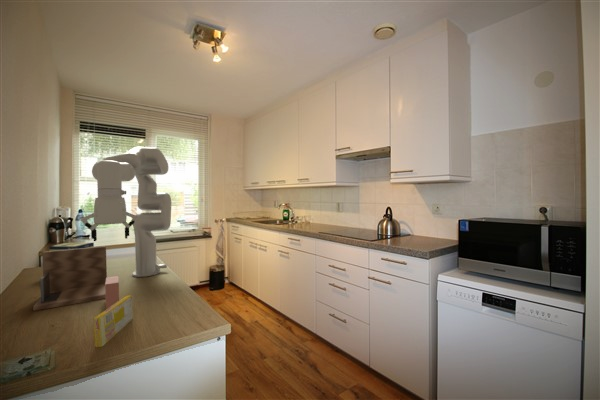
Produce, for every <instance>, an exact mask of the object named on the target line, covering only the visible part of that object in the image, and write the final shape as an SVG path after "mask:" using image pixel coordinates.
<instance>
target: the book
mask: <svg viewBox="0 0 600 400" xmlns="http://www.w3.org/2000/svg"><path fill="white" fill-rule="evenodd" d="M119 277H120V276H119V275H115V276H107V277H106V283H105V294H106V298H105V310H106V309H108V308H109V307H111V306H112V305H114V304H115V303H116V302H118V301H119V300H120V281H119V279H120V278H119Z"/></svg>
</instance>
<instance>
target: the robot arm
mask: <svg viewBox="0 0 600 400" xmlns="http://www.w3.org/2000/svg"><path fill="white" fill-rule="evenodd" d="M168 172H169V163H168V161H167V159H166V156H165V155H164V153H163V152H162V151H161V150H160V149H159V148H157V147H152V146H145V147H144V146H136V147H132V148H131V149H129V150H128V151H126V152H125V153H121V154H117V155H112V156H108V157H104V158H101V159H99V160H97V161H96V162H95V163H94V164H93V166H92V169H91V174H92V177H93V178H94V180H95V181H96V183H97V184H96V185H97V197H95V198H94V203H93V213H91V214H88V215H87V216H84V217H82V218H81V222H82V223H83V225H84V226H85V227H86V228H87V229H89V230H90V231H91V232H90V233H91V236H90V237H91V240H93V242H97V239H98V238H97V232H98V231H97V227H98V226H100V225H101V226H102V225H117V224H118V225H119V224H122V225H123V226H124V239H128V237H129V236H130V228H131V227H132V228H133V233H134V248H135V249H134V252H135V254H134V255H135V270H134V271H132V273H131V274H132V275H131V276H132V277H133V278H134V277H135V278H144V277H150V276H156V275H158V274H160V272H161V269H166V268H168V267H167V266H168V265H167V264H162V263H161V264H158V262H157V239H156V236H155V235H154V234H153V232H163V231H168V230H169V229H170V227H171V223H172V222H171V220H172V198H171V195H170V194H169V193H168V192H164V191H163V192H158V191H157V190H158V189H157V187H158V184H157V182H156V180H155V179H154V178H153V177H152V176H153V175H154V176H156V175H157V176H158V175H159V176H160V175H161V176H162V175H166V174H167V173H168ZM135 177H136V178H135ZM134 178H135V179H136V180H137V183H138V191H137V208H138V210H141V211H160V212H138V213H136V214H133V213H131V212H128V211H127V205H126V199H125V197H123V195H127V190H123V188H122V187H123V186H122V184H123V183H122V182H130V181H132V180H134ZM127 217H129V218H131V220H130V222H127ZM92 218H93V223H94V224H90V223H89V221H88V220H90V219H92Z"/></svg>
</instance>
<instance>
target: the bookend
mask: <svg viewBox="0 0 600 400" xmlns="http://www.w3.org/2000/svg"><path fill="white" fill-rule="evenodd" d="M39 279H40V280H39V281H40V283H39V284H40V297H41V303H46V302H52V301H57V300H58V298H59V296H60V294H61V293H62V291H61V292H54V293H50V276H49V272H46V273H45V274H44V275H43V274H42V276H41V278H39Z"/></svg>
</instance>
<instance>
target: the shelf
mask: <svg viewBox="0 0 600 400" xmlns="http://www.w3.org/2000/svg"><path fill="white" fill-rule="evenodd" d="M107 268H108V267H107V245H103V246H94V247H90V248H79V249H68V250H58V251H49V250H48V251H42V276H43V275H44V274H45V273H46V272H49V276H50V293H54V292H61V291H62V293H61V294H60V296H59V298H58V300H57V301H52V302H46V303H41V296H40V297H39V298H38V300H37V301H36V302H35V304H34V305H33V307H32V308H33V309H32V310H33V311H40V310H41V311H42V310H46V309H51V308H57V307H62V306H68V305H74V304H80V303H85V302H86V303H87V302H91V301H96V300H101V299H106V294H105V283H106V277H108V275H107V274H108V273H107Z"/></svg>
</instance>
